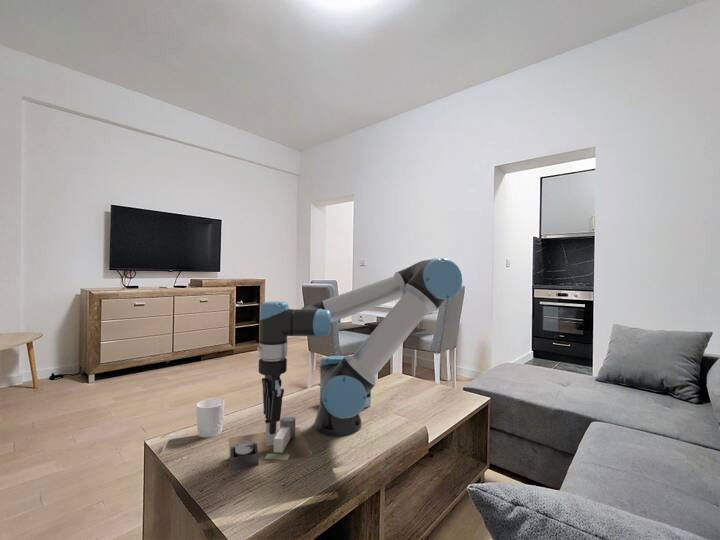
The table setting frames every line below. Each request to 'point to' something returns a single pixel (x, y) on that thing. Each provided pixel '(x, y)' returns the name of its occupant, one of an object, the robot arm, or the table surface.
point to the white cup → (210, 417)
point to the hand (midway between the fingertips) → (271, 444)
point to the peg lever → (284, 433)
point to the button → (243, 448)
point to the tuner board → (267, 450)
